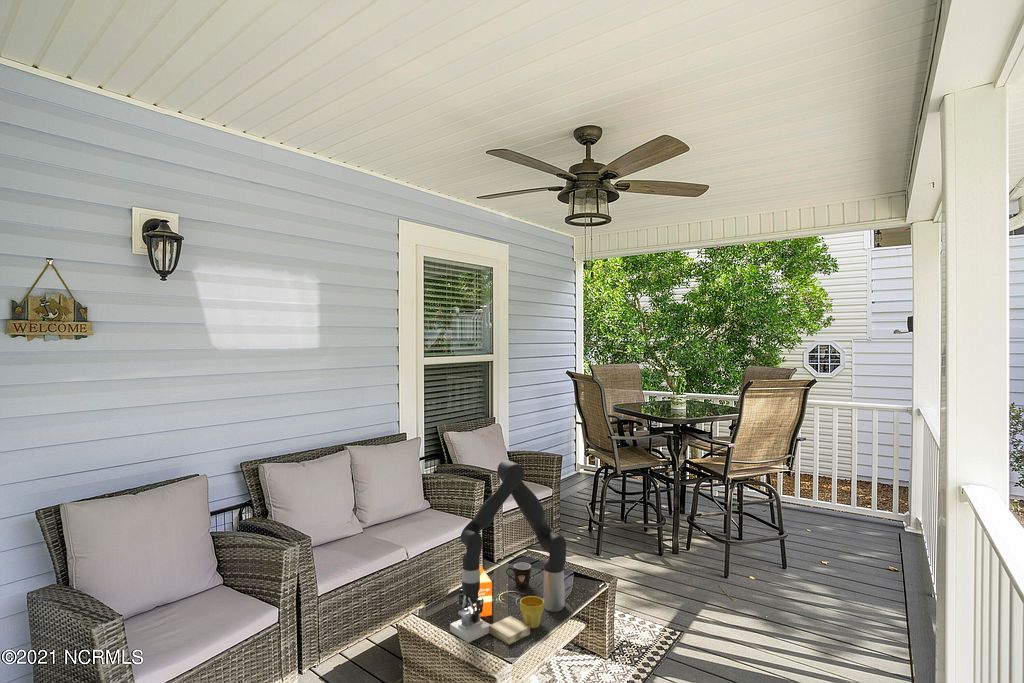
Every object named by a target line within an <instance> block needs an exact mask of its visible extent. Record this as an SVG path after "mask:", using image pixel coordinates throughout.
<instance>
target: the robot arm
mask: <svg viewBox="0 0 1024 683" xmlns="http://www.w3.org/2000/svg"><path fill="white" fill-rule="evenodd" d="M497 476H498V478H499V479H500V481H501V484H500V486H499V487H498V488H497V489H496V491H494V493H493V494H491V495H490V496H489V497H488V498H487V499H486V500H485V501H484V502H483V503H482V505H481V506H480V508H479V509H478V510H477V512H476V514H475V516H474V517H473V518H472V520H470V521H469V522H468V523H467V524H466V526H465V527H464V528H463V529H462V531H461V534H460V542H461V543H462V544H463V546H465V547H466V551H465V552H464V553H463V555H462V571H461V589H458V592H457V593H458V602H459V605H460V606H461V608H462V610H463V609H465V608H467V607H470V606H471V608H472V610H473V623H476V622H478V620H479V614H480V613H482V611H483V602H484V599H483V598H482V599H480V598H479V595H478V592H479V590H480V565H481V563H480V557H481V553H482V548H483V537H482V535H481V534H480V532H481V531H482V530H483V529H488V528H489V526H490V525H491V523H492V521H493V520H494V518H495V516H496V515H497V513H498V512H499V510H500V509H501V507H502V506H503V505H504V503H505V502H506V501H507V499H509V497H510V496H512V498H513V499H514V502H515V504H516V505H517V507H518V508H519V510H520V513H522V515H523V517H524V518H525V520H526V522H527V523H528V524H529V526H530V527H531V529H532V531H533V533H534V535H535V536H536V539H537V541H538V543H539V545H540V547H541V548H542V549H543V551H544V552H546V553H548V554H549V557H548V559H547V560H545V561H544V562H543V584H542V585H543V588H542V589H543V591H542V592H543V593H542V595H543V596H542V599H543V600H544V610H545V611H548V612H552V613H553V612H555V613H557V612H560V611H563V610H564V607H565V606H566V585H565V583H564V582H565V581H564V580H565V579H564V578H565V573H564V572H565V564H566V562H567V560H566V559H567V542H566V539H565V537H564V536H563V535H560V534H558V532H557V533H556V532H554V530H552V528H551V527H550V526H549V524H548V523H547V521H546V515H545V513H546V512H545V508H544V507H543V505H542V503H541V502H540V500H539V498H538V497H537V496H536V494H535V493H534V492H533V491H532V490H531V489H530V488H529V487H528V486H527V485H526V484H525V483H524V482H523V479H524V476H525V470H524V467H523V466H522V465H521V464H519V463H517V462H515V461H512V460H507V459H506V460H502V461H501V462H500V463H499V464H498V466H497ZM475 603H476V605H474V606H473V604H475ZM469 605H470V606H469ZM475 607H476V611H475ZM479 609H480V610H479Z"/></svg>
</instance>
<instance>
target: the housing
mask: <svg viewBox="0 0 1024 683" xmlns="http://www.w3.org/2000/svg"><path fill="white" fill-rule="evenodd" d="M475 605H476V604H475ZM473 606H474V605H473ZM479 610H480V609H479ZM475 611H476V607H475ZM482 612H483V611H482ZM458 615H459V616H460V619H461V622H459V623H458V626H459V627H461V628H462V629H464V630H468V629H471V628H473V627H475V626H477V625H479V624H482V623H483V619H482V618H481V617H480V614H479V620H478V622H476V623H473V610H472V608H471V606H467V608H465V609H463V608H462V609H461V610H459V611H458Z"/></svg>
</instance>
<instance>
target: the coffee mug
mask: <svg viewBox="0 0 1024 683" xmlns="http://www.w3.org/2000/svg"><path fill="white" fill-rule="evenodd" d="M509 570H512V572H513V573H514V577H513V576H511V575H510V574H509V573H508V571H509ZM531 572H532V565H531V564H530V563H527V562H517V563H515V564H513V568H512V567H508V568H506V571H505V573H506V575H507V576H508V577H509V578H510V579H512V580H513V581H514V582H515V588H516V589H518V590H527V589H529V585H530V581H531V580H530V579H531Z"/></svg>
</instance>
